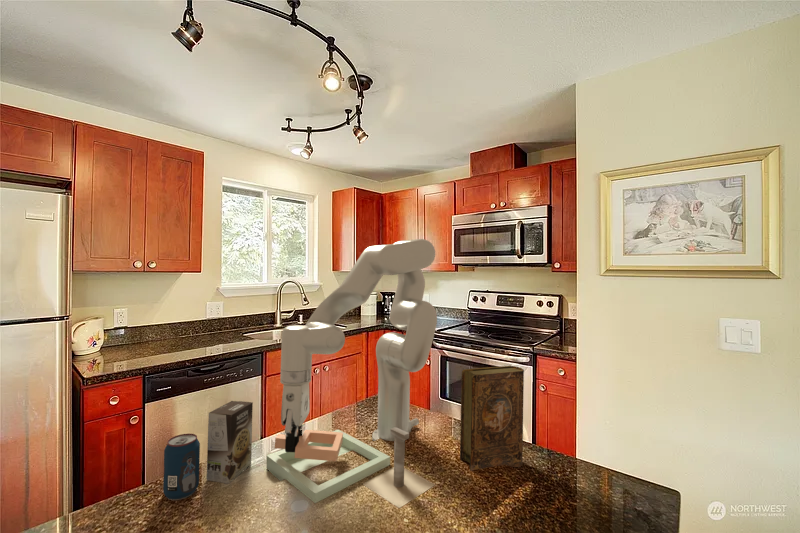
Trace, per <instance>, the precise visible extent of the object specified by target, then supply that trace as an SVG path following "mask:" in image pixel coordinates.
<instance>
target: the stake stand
mask: <svg viewBox="0 0 800 533" xmlns="http://www.w3.org/2000/svg"><path fill="white" fill-rule="evenodd" d="M390 434H391V435H393V436H394V441H393V442H394V446H393V447H394V448H393V467H391V468H389V469H387V470H385V471H384V472H381V473H379V474H378V475H376V476H374V477H373V478H370V479H368V480H366V481H364V482H363V483H362V485H363V486H365V488H367V489H369V490H370V491H371V492H374V493H375V494H377V495H378V496H379V497H381V498H382V499H384V500H385V501H387V502H388V503H390V504H391V505H393V506H395V507H396V508H398V509H400V508H402V507H403V506H405V505H407V504H408V503H410V502H411V501H413V500H415V499H416V498H418V497H419V496H420V495H423V493H425V492H427V491H428V490H431V489H432V488H433V487H434V486H436V483H434V482H432V481H430V480H429V479H428V480H427V479H426V478H424V477H423V476H421V475H419V474H417V473H415V472H412V471H411V470H409V469H407V468H406V467H405V455H406V454H405V453H406V452H405V449H406V446H405V441H406V440H408V439H410V432H409V433H408V432H406V431H403V430H401V429H399V428H396V427H394V428H392V429H391V433H390Z"/></svg>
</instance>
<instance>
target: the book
mask: <svg viewBox="0 0 800 533" xmlns="http://www.w3.org/2000/svg"><path fill="white" fill-rule="evenodd" d="M524 374H525V371H524V369H523V368H522V367H519V366H515V365H504V366H503V365H501V366H500V365H499V366H491V367H488V366H487V367H477V368H466V369H463V370H461V386H460V387H461V389H460V391H461V392H460V393H461V394H460V429H459V430H460V431H459V432H460V438H459V440H460V441H459V443H460V444H459V447H460V448H459V458H460V459H459V460H460V461H465V462H467V463H469V471H475V470H480V469H487V468H492V467H498V466H503V465H506V466H509V467H510V468H513V467H518V468H521V467H520V466H522V467H523V460H524V459H523V454H524V453H523V449H524V448H523V446H524V444H523V443H524V442H523V441H524V389H525V388H524V387H525V386H524V384H525V380H524V378H525V376H524Z"/></svg>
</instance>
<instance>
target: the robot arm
mask: <svg viewBox="0 0 800 533" xmlns="http://www.w3.org/2000/svg"><path fill="white" fill-rule="evenodd" d="M435 258H436V249H435V246H434V245H433V243H432V242H430V241H429V240H427V239H424V238H418V239H417V238H416V239H403V240H398V241H396V242H394V243H391V244H390V243H389V244H381V245H380V244H378V245H377V244H376V245H371V246H368V247H367V248H365V249H364V250H363V251H362V253H361V254H360V255H359V257H358V259H357V260H356V261H355V263H354V264H353V266H352V268H351V270H349V272H348V274H347V275H346V276H345V278H344V280H343V281H342V282H341V283H340V285H339V286H338V287H337V288H336V289H335V290H333V291H332V292H331V293H330V294H329V295H328V296H327V297H325V299H323V300H322V301H321V302H320V303H319V305H318V306H317V307H316V309H315V310H314V311H313V312H312V314H311V315H310V317H309V318H308V320H307V322H306V324H305V325H304V324H303V325H302V324H301V325H298V324H297V325H296V324H294V325H287V326H286V327H284V328H283V329H282V332H281V351H280V352H281V353H280V355H281V356H280V376H279V377H280V379H279V381H280V382H279V383H280V384H281V385H283V386H282V387H283V388H282V396H281V397H282V398H281V410H280V412H281V413H280V415H281V416H280V418H281V420H280V423H281V425H282V426H284V434H286V440H285V452H295V447H296V446H297V444H298V442H299V436H302V435H303V424H304V422H305V420H306V419H307V418H308V416H309V413H310V383H311V382H312V369H313V368H312V364H313V362H312V361H313V355H332V354H333V355H334V354H337V353H338V352H339V351H341V350H342V349H343V347H344V345H345V342H346V337H345V333H344V331H343V330H342V329H341V328H340V327H338V326H336V325H335V324H336V323H337V322H338V320H339V319H340V318H341V317H342V316H343V315H345V314H346V313H347V312H349V311H351V310H353V309H356V308H358V307H360V306H362V305H364V304H365V303H366V302H368V300H369V298H370V296H371V295H372V293H373V292H374V290H375V288H377V285H378V284H379V282H380V281H381V279H382V277H383V276H396V275H397V287H396V290H395V294H394V297H393V301H392V304H391V308H390V312H389V322H390V324H391V325H392V326H393V327H395V328H397V329H400V330H403V331H406V332H405V334H403V333H398V332H394V331H392V332H386V333H384V334H382V335H381V336H380V337H379V339H378V340H377V342H376V346H375V357H376V362H377V370H378V371H377V373H378V374H377V376H378V380H377V381H378V382H377V383H378V386H377V388H378V389H377V429H375V430H374V431H372V435H371V438H372V442H374V441H377V440H379V439H382V440H384V441H387V442H388V441H389V442H394V436H393V435H391V434H390V433H391V429H392V428H394V427H396V428H399V429H401V430H403V431H406V432H408V433H409V434H410V433H411V432H412V429H413V428H414V427H416V426H417V425H419V424H420V420H419V418H417V417H416V418H413V419H411V420H410V401H411V399H410V392H411V390H410V389H411V388H410V387H411V377H410V373H416V372H419V371H420V370H422V369H423V368H424V366H425V365H426V363H427V361H428V359H429V356H430V352H431V349H432V344H433V340H434V338H435V333H436V329H437V324H438V317H437V316H438V314H437V311H436V308H435V307H434V305H432V303H430V302H428V301H426V300H423V298H424V292H425V287H426V280H425V275H424V273H423V271H422V270H423V269H426V268H428V267H430V266H431V265H432V264H433V262H434V261H435Z"/></svg>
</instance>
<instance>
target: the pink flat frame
mask: <svg viewBox="0 0 800 533" xmlns="http://www.w3.org/2000/svg"><path fill="white" fill-rule="evenodd" d="M274 440H275V441H274V449H277V450H278V449H279V450H283V449H285V440H286V433H277V435H276V437H275V439H274ZM342 441H343V433H341V432H332V431H328V430H326V431H325V430H315V429H305V430H304V431H303V432H302V436H299V442H298V444H297V446H296V447H295V458H301V459H313V460H325V461H326V462H337V461H338V457H339V456H338V455H339V451H340V448H341V445H342ZM309 442H315V443H327V444H333V446H332V447H322V446H310V445H308V443H309Z"/></svg>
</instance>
